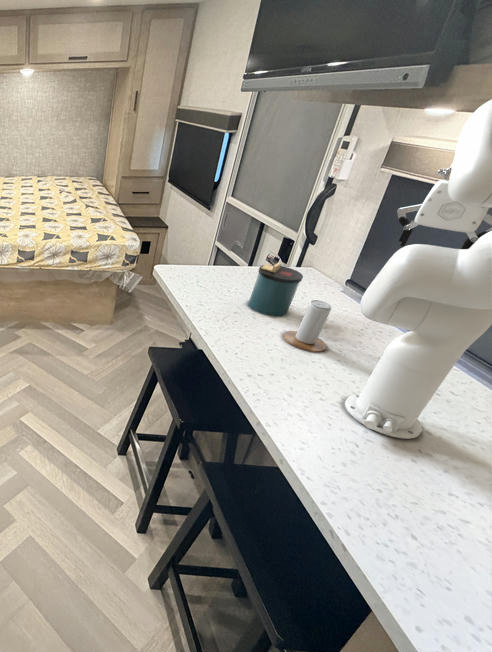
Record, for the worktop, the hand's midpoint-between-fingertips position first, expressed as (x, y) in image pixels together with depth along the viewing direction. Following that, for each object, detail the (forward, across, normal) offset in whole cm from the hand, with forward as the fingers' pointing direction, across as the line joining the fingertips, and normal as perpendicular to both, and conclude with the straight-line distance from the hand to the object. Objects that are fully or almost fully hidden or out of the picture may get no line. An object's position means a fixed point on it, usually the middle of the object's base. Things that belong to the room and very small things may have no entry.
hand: (429, 250), depth 95 cm
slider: (+17, -31, +6) cm, 36 cm away
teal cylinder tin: (+30, -28, +6) cm, 42 cm away
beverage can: (+30, -14, -8) cm, 34 cm away
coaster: (+30, -14, -8) cm, 34 cm away
